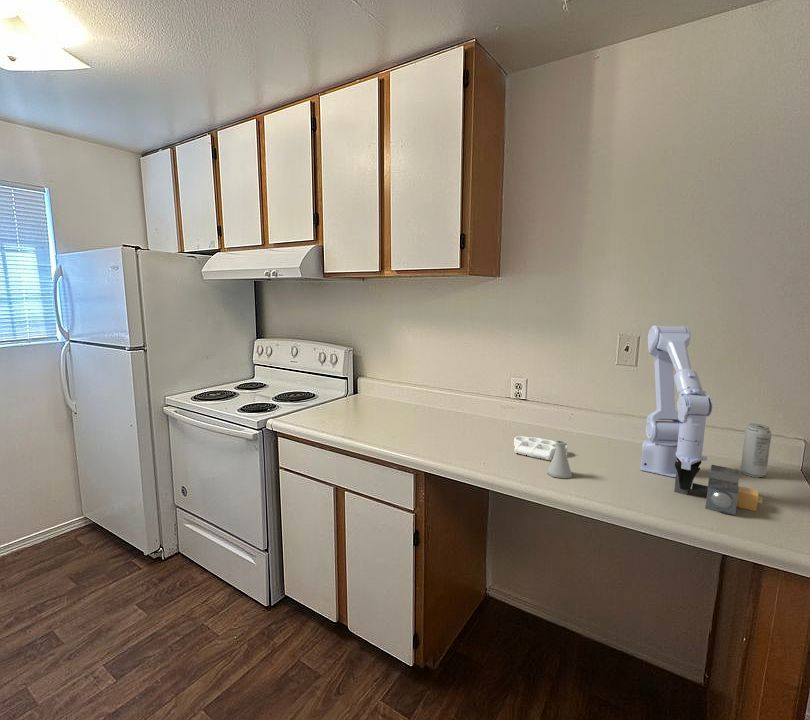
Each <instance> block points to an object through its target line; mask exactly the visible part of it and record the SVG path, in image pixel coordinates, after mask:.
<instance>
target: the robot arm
mask: <svg viewBox="0 0 810 720" xmlns="http://www.w3.org/2000/svg"><path fill="white" fill-rule="evenodd" d="M690 342H691V330H690V328H689V327H688V326H687V325H682V326H681V325H679V326H677V325H675V326H674V325H673V326H672V325H670V326H669V325H654V324H653V325H652V326H651V327H650V328H649V330H648V335H647V348H648V349H647V350H648V354H650V355H651V356H653V363H654V364H653V365H654V383H655V384H654V386H655V405H656V409H655V410H654V411H652V412H651V413H650V414H648V415H647V416H646V425H645V436H646V439H643V443H642V448H641V459H640V469H639V470H640V471H644V472H647V473H653V474H657V475H661V476H666V477H670V478H671V477H672V478H676V473H677V472H678V476H679V485H680V489H683V490H687V491H688V492H690V491H691V489H692V484H693V483H694V478H695V477H696V475H697V474H698V473H699V471H700V469H701V468H700V465H702V461H704V462H707V461H708V457H707V456H705V455H703V449H704V441H705V440H704V439H705V430H706V421H707V417H709V416H710V415H711V414H712V412H713V401H712V398H711V396H710V395H709V394H707V392H706V390H705V391H704V390H703V387H702V384H701V381H700V379H699V373H698V372H696V371H695V370H694V369H692V368H691V362H690V357H689V351H688V348H689V345H690ZM674 369H675V372H676V373H675V374H674ZM675 388H676V391H677V392H676V393H677V395H678V398H677V402H676V398H675V397H676V396H675ZM676 409H677V410H676Z"/></svg>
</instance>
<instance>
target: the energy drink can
mask: <svg viewBox="0 0 810 720" xmlns="http://www.w3.org/2000/svg"><path fill="white" fill-rule="evenodd" d="M743 439H744V440H743V448H742V455H741V456H742V457H741V464H740V470H741V471H742V474H743V475H746V476H748V477H751V476H752V477H751V478H756V477H762V478H764V476H766V475H767V470H768V462H769V455H770V450H771V449H770V448H771V441H772V440H771V439H772V431H771V430H770V426H769V425H765V424H761V423H749V424H748V426H747V427H746V428H745V432H744V438H743Z"/></svg>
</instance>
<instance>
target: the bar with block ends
mask: <svg viewBox="0 0 810 720" xmlns="http://www.w3.org/2000/svg"><path fill="white" fill-rule="evenodd" d="M674 480H675V481H674V490H673V492H674V493H678V494H683V495H686V496H687V495H689V494H688V493H689V491H687V490H683V489H680V485H679V476H678V472H677V473H676V477H675V479H674ZM691 490H692V491H697V492H701V493H705V494H707V490H708V485H704V484H700V483H699V484H698V483H695V482H692V486H691ZM758 490H759V489H758ZM758 490H757V489H752V488H748V487H744V486H739V485H738V498H737V506H736V508H740V509H746V510H750V511H754V512H757V509H758V508H757V507H758V503H759V504H763V496H759V491H758Z"/></svg>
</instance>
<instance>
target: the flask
mask: <svg viewBox="0 0 810 720" xmlns="http://www.w3.org/2000/svg"><path fill="white" fill-rule="evenodd" d="M555 442H556V444H557V447H556V451H555V454H554V457H553V458H552V459H551V460H550V464H549V465H548V468H547V471H546V474H547V473H548V474H547V475H548V476H551V478H556V479H568V478H569V479H570V478H573V477H572V476H573V474H572V470H571V468H570V467H571V466H570V464H569V461H568V455H567V456H566V449H565V448H566V445H567V446H568V442H567V441H565V440H561V439H560V440H555Z"/></svg>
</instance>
